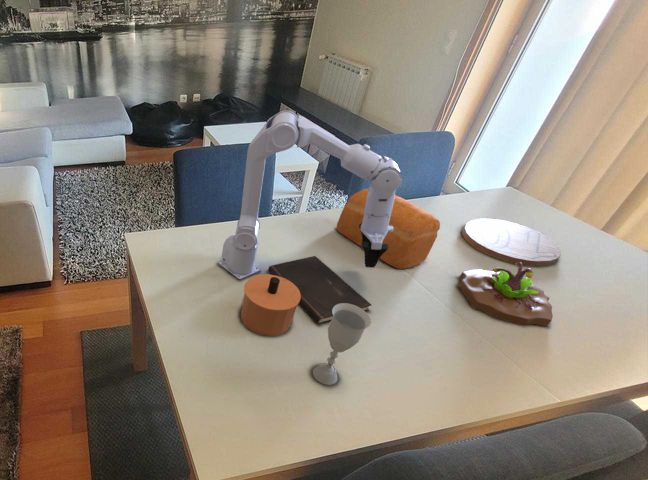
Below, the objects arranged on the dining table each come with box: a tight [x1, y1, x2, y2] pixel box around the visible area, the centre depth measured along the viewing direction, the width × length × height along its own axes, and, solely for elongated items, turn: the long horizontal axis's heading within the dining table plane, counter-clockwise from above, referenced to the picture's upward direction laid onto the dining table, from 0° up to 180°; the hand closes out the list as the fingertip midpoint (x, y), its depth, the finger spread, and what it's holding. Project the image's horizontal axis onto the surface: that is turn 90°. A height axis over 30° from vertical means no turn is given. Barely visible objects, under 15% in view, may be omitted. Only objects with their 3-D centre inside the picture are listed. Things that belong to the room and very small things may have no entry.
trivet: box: [461, 218, 562, 267], centre depth 128 cm, size 25×25×2 cm
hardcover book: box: [267, 255, 372, 325], centre depth 109 cm, size 16×23×2 cm
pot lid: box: [243, 274, 301, 311], centre depth 95 cm, size 13×13×5 cm
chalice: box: [312, 303, 372, 386], centre depth 82 cm, size 7×7×18 cm
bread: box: [335, 187, 441, 270], centre depth 123 cm, size 14×26×16 cm, turn 24°
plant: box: [458, 262, 553, 327], centre depth 103 cm, size 20×20×11 cm
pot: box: [240, 292, 298, 337], centre depth 99 cm, size 12×12×8 cm
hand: (368, 258), depth 104 cm, fingers open, 7 cm apart
